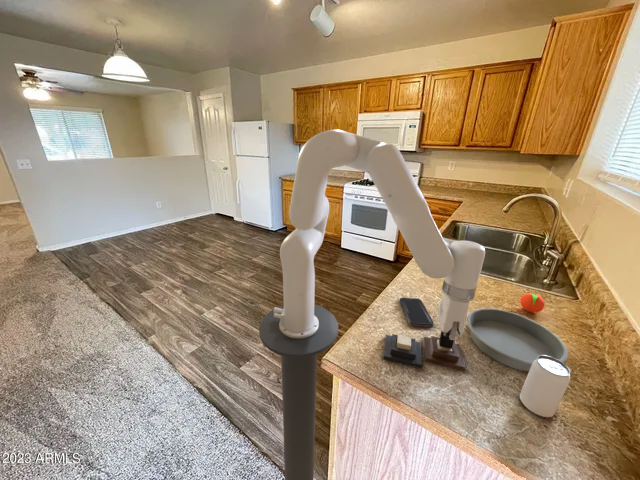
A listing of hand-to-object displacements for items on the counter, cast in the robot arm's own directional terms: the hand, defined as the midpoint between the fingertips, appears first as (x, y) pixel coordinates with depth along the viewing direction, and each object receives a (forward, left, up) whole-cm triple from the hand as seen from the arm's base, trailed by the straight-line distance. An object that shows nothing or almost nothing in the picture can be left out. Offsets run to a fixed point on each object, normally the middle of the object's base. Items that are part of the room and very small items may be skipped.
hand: (445, 345), depth 74 cm
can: (+19, -10, -3) cm, 22 cm away
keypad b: (0, 0, -3) cm, 3 cm away
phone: (-7, +18, -3) cm, 20 cm away
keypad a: (-11, -3, -3) cm, 12 cm away
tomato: (+33, +33, -3) cm, 47 cm away
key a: (-11, -3, -1) cm, 12 cm away
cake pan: (+20, +11, -3) cm, 23 cm away
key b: (0, 0, -2) cm, 2 cm away
